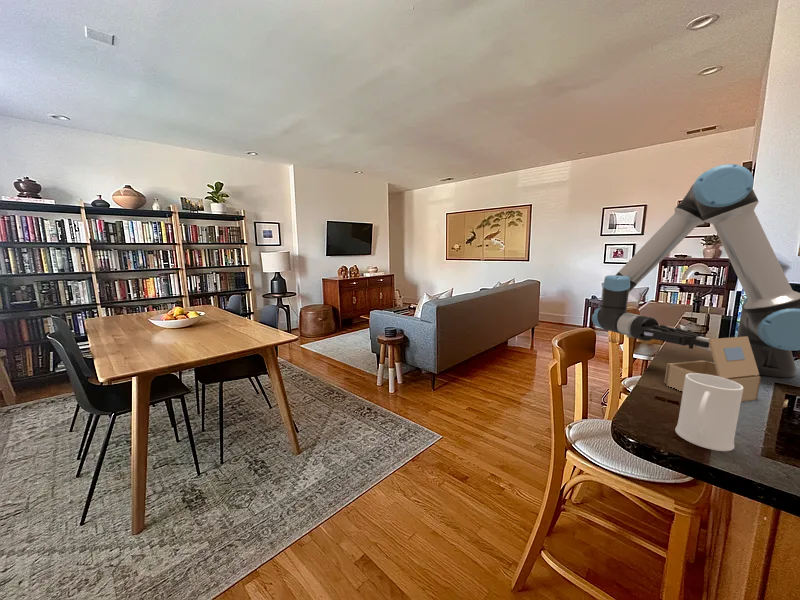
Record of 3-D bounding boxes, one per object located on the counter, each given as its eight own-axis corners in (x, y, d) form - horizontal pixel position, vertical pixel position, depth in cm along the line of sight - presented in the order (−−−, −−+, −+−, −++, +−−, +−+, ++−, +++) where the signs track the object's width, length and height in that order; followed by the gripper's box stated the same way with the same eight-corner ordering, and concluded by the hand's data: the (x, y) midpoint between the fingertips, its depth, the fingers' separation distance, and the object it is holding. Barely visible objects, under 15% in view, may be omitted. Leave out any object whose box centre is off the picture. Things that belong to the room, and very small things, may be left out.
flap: (756, 374, 81) (745, 336, 83) (759, 374, 80) (748, 336, 82) (718, 378, 78) (707, 339, 80) (721, 378, 77) (710, 338, 79)
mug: (720, 463, 56) (732, 398, 54) (661, 438, 63) (669, 380, 62) (740, 443, 62) (751, 384, 61) (684, 422, 70) (692, 369, 68)
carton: (701, 379, 94) (705, 359, 93) (758, 399, 82) (763, 376, 81) (660, 384, 90) (663, 363, 89) (714, 405, 78) (718, 381, 77)
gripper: (652, 337, 106) (742, 361, 83) (620, 339, 103) (704, 364, 80) (655, 314, 105) (747, 333, 82) (623, 316, 102) (709, 335, 79)
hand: (726, 348), depth 81 cm, fingers closed
